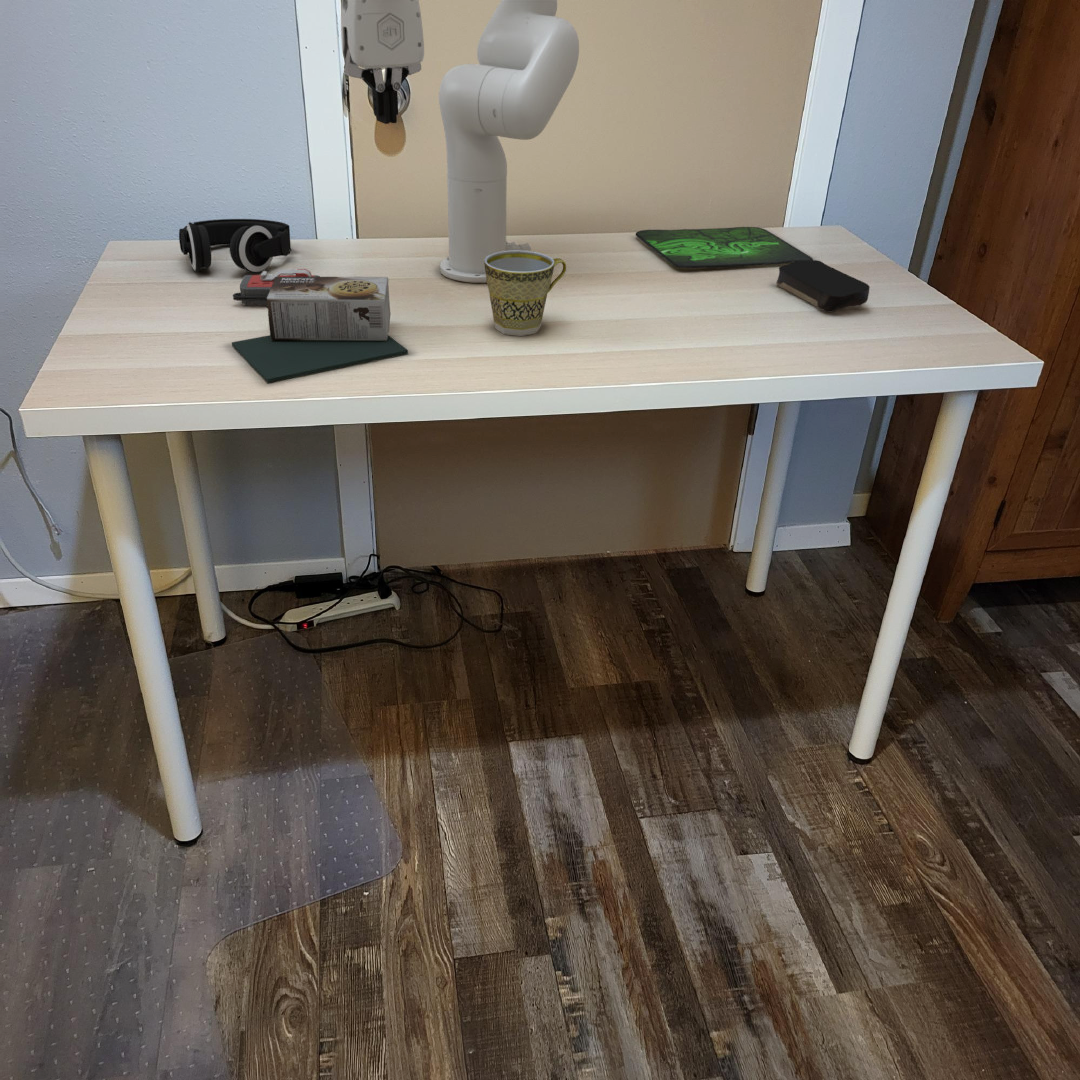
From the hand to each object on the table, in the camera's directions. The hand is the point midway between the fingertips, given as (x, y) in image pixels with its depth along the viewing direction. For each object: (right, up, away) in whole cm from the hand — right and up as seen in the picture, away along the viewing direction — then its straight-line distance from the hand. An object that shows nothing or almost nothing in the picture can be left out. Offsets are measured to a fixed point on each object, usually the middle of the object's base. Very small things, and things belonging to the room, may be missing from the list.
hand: (386, 121), depth 134 cm
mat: (-9, -31, +1) cm, 32 cm away
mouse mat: (+54, -4, +46) cm, 71 cm away
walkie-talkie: (-16, -21, +17) cm, 31 cm away
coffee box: (0, -24, +5) cm, 25 cm away
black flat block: (+67, -18, +26) cm, 74 cm away
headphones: (-30, -10, +32) cm, 45 cm away
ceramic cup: (+19, -26, +11) cm, 34 cm away
